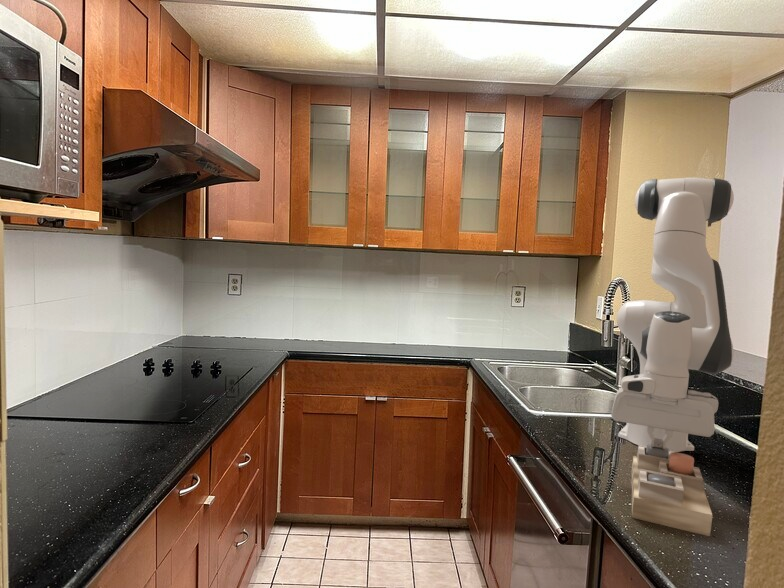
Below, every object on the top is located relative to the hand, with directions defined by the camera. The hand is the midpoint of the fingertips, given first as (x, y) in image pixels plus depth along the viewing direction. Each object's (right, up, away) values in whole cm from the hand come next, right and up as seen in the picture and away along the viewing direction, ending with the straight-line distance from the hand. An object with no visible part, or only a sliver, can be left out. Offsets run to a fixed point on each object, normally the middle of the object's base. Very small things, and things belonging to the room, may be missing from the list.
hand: (657, 447), depth 119 cm
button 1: (0, -3, +1) cm, 3 cm away
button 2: (-7, -5, -14) cm, 16 cm away
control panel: (-2, -9, -7) cm, 12 cm away
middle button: (0, -2, -8) cm, 9 cm away
